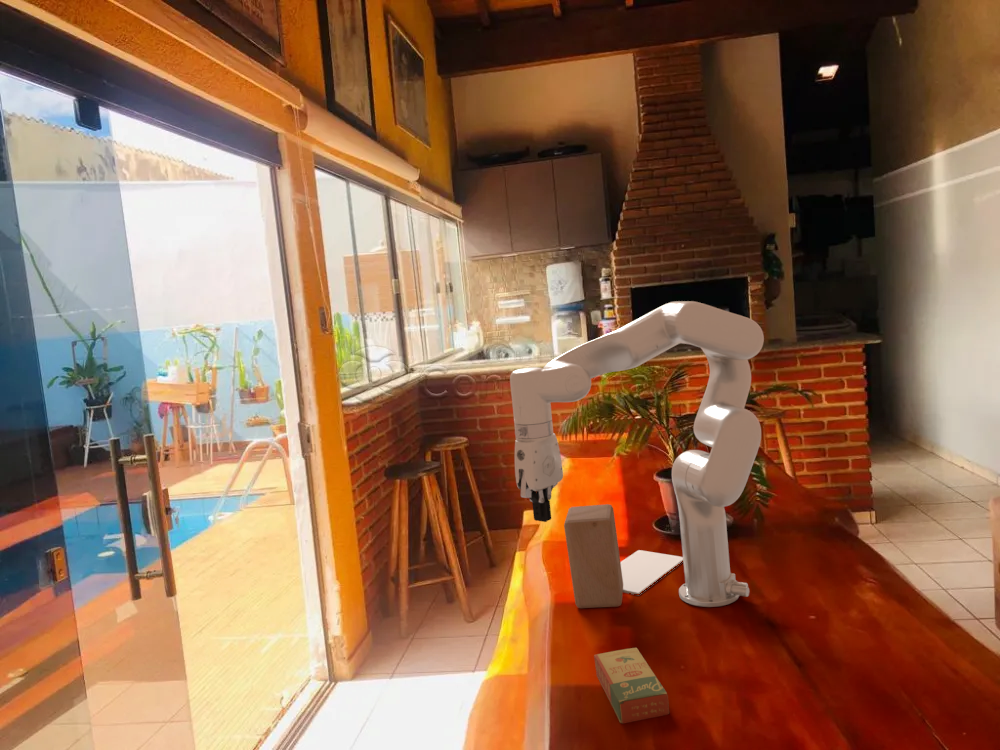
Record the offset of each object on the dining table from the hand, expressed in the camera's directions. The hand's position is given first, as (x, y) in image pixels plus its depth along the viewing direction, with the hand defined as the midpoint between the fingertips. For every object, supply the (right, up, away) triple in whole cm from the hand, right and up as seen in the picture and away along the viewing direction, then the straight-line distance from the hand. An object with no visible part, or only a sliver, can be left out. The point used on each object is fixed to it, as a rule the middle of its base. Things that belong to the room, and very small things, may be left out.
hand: (542, 519), depth 152 cm
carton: (+14, -26, -23) cm, 37 cm away
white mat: (+24, -18, +27) cm, 41 cm away
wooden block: (+14, -20, +15) cm, 29 cm away
